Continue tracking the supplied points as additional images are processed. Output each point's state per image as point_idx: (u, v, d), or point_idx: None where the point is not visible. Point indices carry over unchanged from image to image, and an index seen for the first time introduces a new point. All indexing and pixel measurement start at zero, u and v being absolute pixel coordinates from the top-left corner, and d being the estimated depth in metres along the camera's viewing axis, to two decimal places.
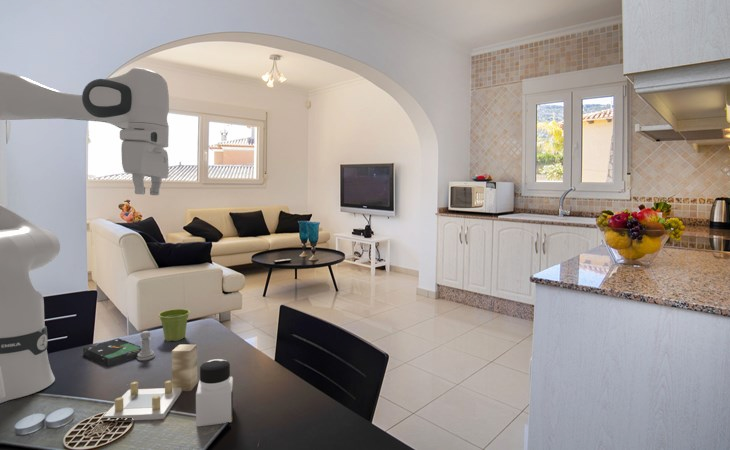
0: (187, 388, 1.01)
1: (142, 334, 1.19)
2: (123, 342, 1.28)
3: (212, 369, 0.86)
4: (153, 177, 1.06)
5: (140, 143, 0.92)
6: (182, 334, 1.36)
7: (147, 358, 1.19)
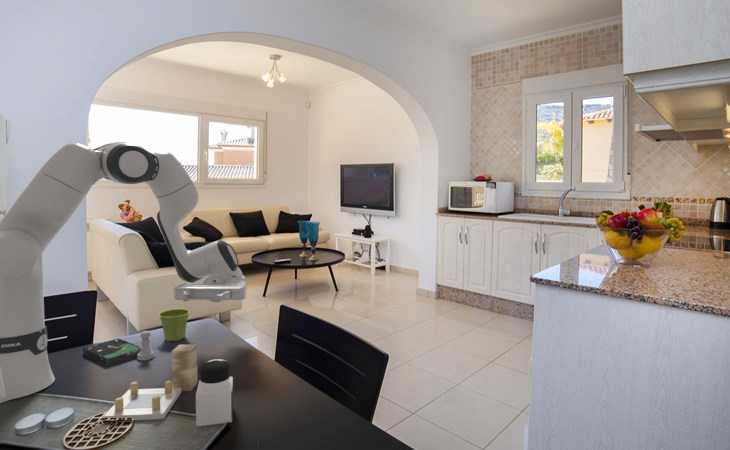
0: (187, 388, 1.01)
1: (142, 334, 1.19)
2: (123, 342, 1.27)
3: (212, 369, 0.86)
4: (189, 292, 1.18)
5: None
6: (182, 334, 1.36)
7: (147, 358, 1.19)
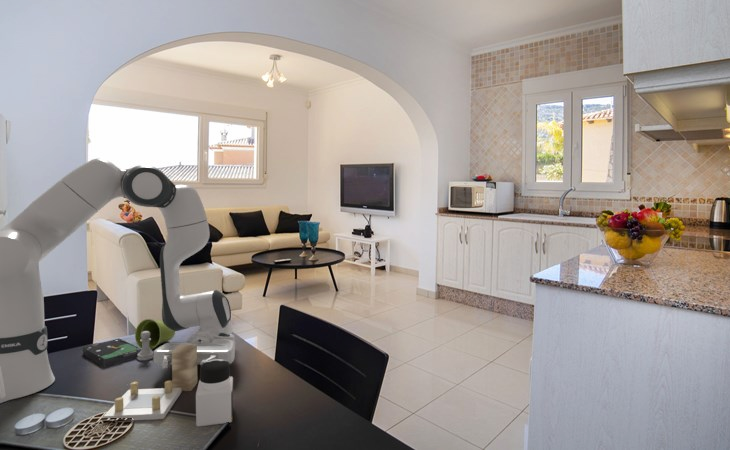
0: (187, 388, 1.01)
1: (142, 334, 1.19)
2: (123, 342, 1.27)
3: (212, 369, 0.86)
4: (171, 356, 1.07)
5: None
6: (172, 333, 1.33)
7: (147, 358, 1.19)
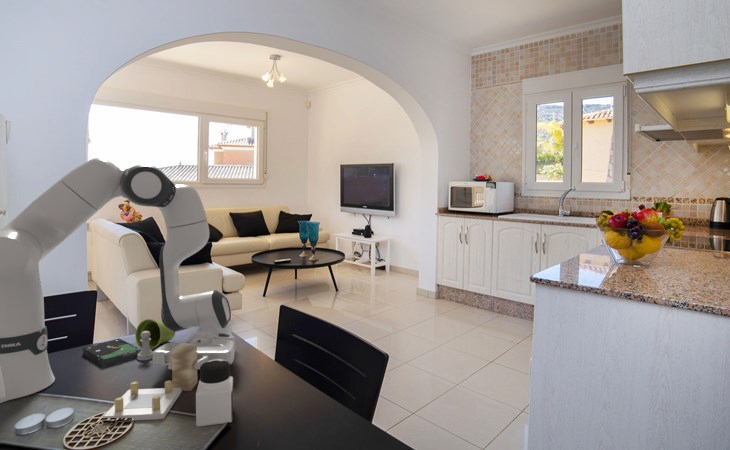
0: (187, 388, 1.01)
1: (142, 334, 1.19)
2: (122, 342, 1.27)
3: (212, 369, 0.86)
4: None
5: None
6: (172, 333, 1.33)
7: (147, 358, 1.19)
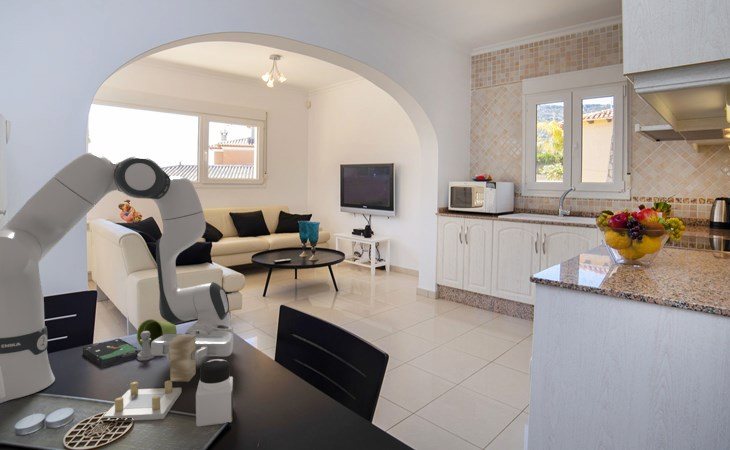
0: (185, 378, 1.01)
1: (142, 334, 1.19)
2: (122, 343, 1.27)
3: (212, 369, 0.86)
4: None
5: None
6: None
7: (147, 358, 1.19)
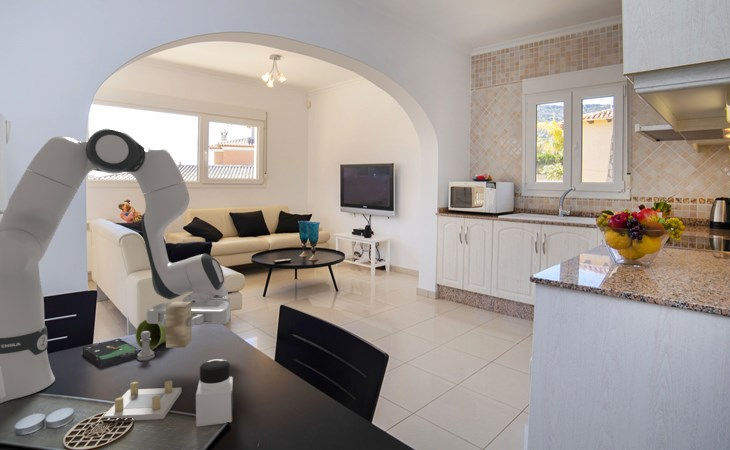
0: (181, 345, 0.99)
1: (142, 334, 1.19)
2: (122, 343, 1.27)
3: (212, 369, 0.86)
4: None
5: None
6: None
7: (147, 358, 1.19)
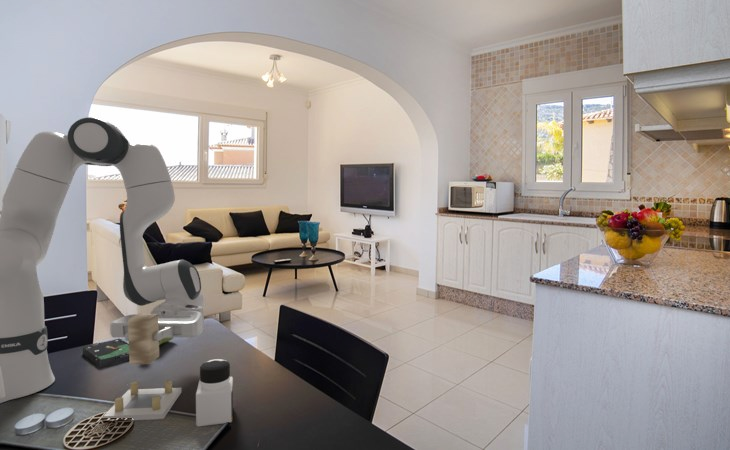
0: (146, 361, 0.91)
1: None
2: (122, 343, 1.27)
3: (212, 369, 0.86)
4: None
5: None
6: None
7: None
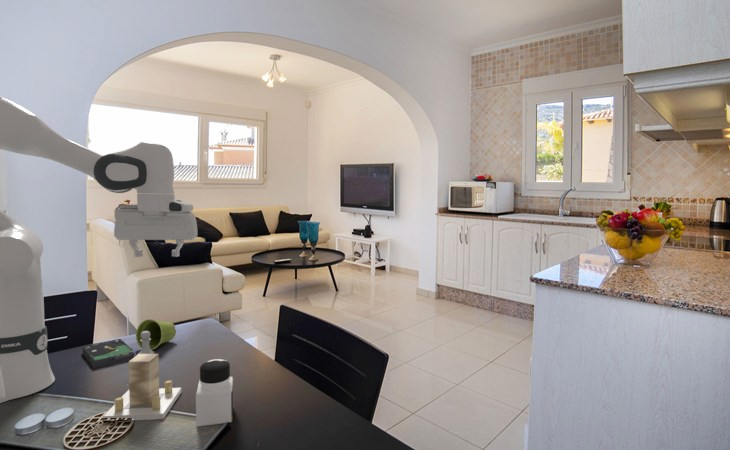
0: (146, 402, 0.91)
1: (142, 334, 1.19)
2: (121, 343, 1.27)
3: (212, 369, 0.86)
4: (135, 239, 1.09)
5: (193, 214, 1.12)
6: (172, 334, 1.33)
7: None
